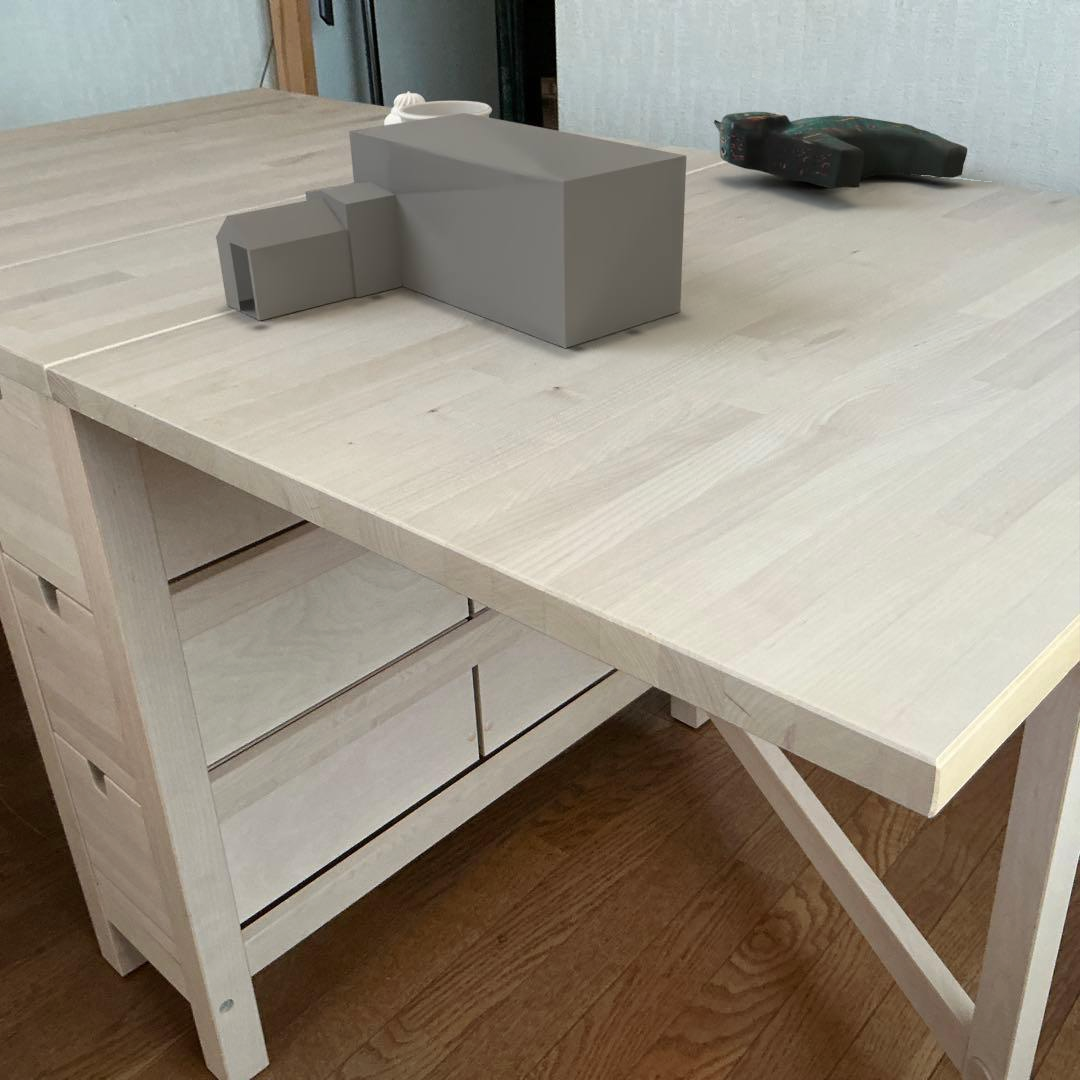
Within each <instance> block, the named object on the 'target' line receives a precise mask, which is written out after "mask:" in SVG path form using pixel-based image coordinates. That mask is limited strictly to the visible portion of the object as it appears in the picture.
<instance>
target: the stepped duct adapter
mask: <svg viewBox="0 0 1080 1080" xmlns="http://www.w3.org/2000/svg"><path fill="white" fill-rule="evenodd" d="M348 135H349V145H350V155H351V164H352V166H351V167H352V175H353V182H349V183H345V184H344V183H343V184H339V185H333V186H328V187H323V188H317V189H311V190H307V191H305V192H304V193H305V200H302V201H298V202H297V201H296V202H293V203H287V204H282V205H278V206H272V207H267V208H262V209H256V210H252V211H246V212H240V213H236V214H231V215H227V216H226V217H225V218H224V221H223V223H222V225H221V226H220V228H219V230H218V232H217V234H216V235H215V239H216V246H217V251H218V258H219V264H220V271H221V278H222V283H223V289H224V296H225V302H226V306H229V307H230V308H232V309H235V310H237V311H238V312H241V313H243V314H245V315H247V316H250V317H252V318H253V319H255V320H257V321H259V322H261V321H264V320H269V319H272V318H276V317H280V316H284V315H289V314H292V313H295V312H296V313H297V312H300V311H303V310H304V311H305V310H308V309H312V308H316V307H319V306H324V305H329V304H331V303H336V302H340V301H344V300H348V299H351V298H356V299H358V298H361V297H365V296H370V295H373V294H377V293H381V292H385V291H389V290H393V289H397V288H401V287H404V288H405V289H406V288H407V289H409V290H411V291H414V292H416V293H420V294H422V295H425V296H427V297H430V298H433V299H435V300H438V301H441V302H444V303H446V304H448V305H450V306H453V307H455V308H456V307H457V308H459V309H461V310H464V311H467V312H469V313H472V314H475V315H477V316H480V317H483V318H485V319H488V320H490V321H493V322H495V323H497V324H501V325H503V326H506V327H509V328H511V329H514V330H516V331H519V332H522V333H525V334H527V335H528V336H529V335H530V336H532V337H535V338H536V339H540V340H542V341H545V342H548V343H550V344H553V345H555V346H558V347H561V348H563V349H567V348H570V347H574V346H577V345H580V344H583V343H587V342H589V341H593V340H595V339H599V338H602V337H605V336H609V335H611V334H614V333H618V332H621V331H624V330H627V329H630V328H634V327H636V326H639V325H643V324H646V323H649V322H652V321H655V320H658V319H661V318H664V317H668V316H671V315H674V314H677V313H680V312H681V306H682V305H681V304H682V278H683V277H682V276H683V256H684V255H683V253H684V230H685V229H684V228H685V205H686V204H685V201H686V179H687V178H686V177H687V155H686V154H680V153H675V152H669V151H665V150H661V149H653V148H650V147H645V146H644V147H643V146H638V145H635V144H628V143H623V142H618V141H613V140H607V139H602V138H599V137H598V138H597V137H591V136H587V135H581V134H576V133H572V132H571V133H570V132H566V131H561V130H556V129H550V128H546V127H540V126H534V125H529V124H523V123H520V122H519V123H518V122H514V121H509V120H503V119H498V118H492V117H489V118H488V117H483V116H478V115H473V114H467V113H460V114H454V115H448V116H441V117H435V118H429V119H422V120H416V121H410V122H403V123H397V124H391V125H385V126H384V125H379V126H374V127H367V128H361V129H360V128H359V129H354V130H349V131H348Z"/></svg>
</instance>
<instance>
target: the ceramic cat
mask: <svg viewBox="0 0 1080 1080" xmlns="http://www.w3.org/2000/svg"><path fill="white" fill-rule="evenodd" d="M713 124H714V125H715V127H716V128H717V130H718V132H719V156H720V158H721V160H723V161H724V162H727V163H728V164H731V165H733V166H736V167H739V168H741V169H744V170H745V169H746V170H751V171H752V170H753V171H757V172H761V173H764V174H765V173H766V174H769V175H771V176H772V175H773V176H774V177H775V176H776V177H779V178H782V179H783V180H787V181H795V182H805V183H807V184H811V185H815V186H819V187H823V188H829V189H842V188H852V189H853V188H859V187H860V181H861V180H865V179H867V178H869V177H873V176H879V175H880V176H881V175H882V176H886V175H887V176H888V175H889V176H890V175H901V176H903V175H904V176H926V177H927V176H930V177H933V178H940V179H941V178H949V179H953V178H956V177H960V176H962V175H963V170H964V165H965V162H966V158H967V155H968V148H967V146H964V145H962V144H959V143H956V142H953V141H950V140H948V139H946V138H944V137H942V136H940V135H939V134H936V133H933V132H930V131H928V130H925V129H921V128H918V127H916V126H913V125H910V124H907V123H899V122H894V121H888V120H881V119H876V118H867V117H864V116H863V117H861V116H855V115H845V116H844V115H826V116H825V115H824V116H815V117H805V118H800V119H795V120H790V119H789V117H788V116H787V115H786V114H777V113H774V112H767V111H745V112H734V113H729V114H728V113H727V114H725V115H724V116H723V117H722V119H721V121H719V120H716V119H714V121H713Z"/></svg>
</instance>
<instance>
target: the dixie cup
mask: <svg viewBox="0 0 1080 1080" xmlns="http://www.w3.org/2000/svg"><path fill="white" fill-rule="evenodd" d="M492 111H493V109H492V107H491V106H490V105H489V104H487V103H485V102H481V101H473V100H472V101H471V100H436V101H435V100H433V101H425V102H424V103H417V104H411V105H407V106H404V107H402V108H401V109H400V110H399V111H398V116H399V117H401V122H402V123H403V122H410V121H416V120H422V119H429V118H435V117H441V116H448V115H454V114H460V113H467V114H473V115H478V116H483V117H488V118H490V114H491V113H492Z"/></svg>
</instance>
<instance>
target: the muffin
mask: <svg viewBox="0 0 1080 1080" xmlns="http://www.w3.org/2000/svg"><path fill="white" fill-rule="evenodd" d="M424 102H426V100H425V98H424V97H423V96H422V95H421V94H419V93H417V92H415V93H414V92H410V91H409V90H407V92H405V93H400V94H398V95H397V96H396V97H395V99H394V100H393V106H392V108H391V110H390V113H388V115H387V116H386V117H385V119H384V121H383V126H385V125H391V124H397V123H402V122H401V117H399V116H398V111H399V110H400V109H401V108H402V107H404V106H407V105H411V104H417V103H424Z"/></svg>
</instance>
